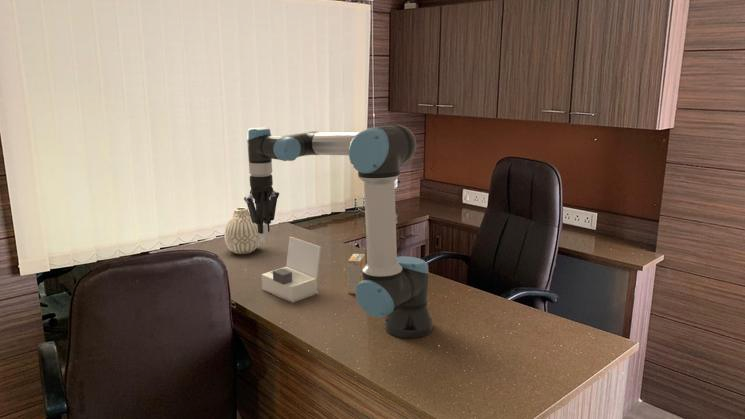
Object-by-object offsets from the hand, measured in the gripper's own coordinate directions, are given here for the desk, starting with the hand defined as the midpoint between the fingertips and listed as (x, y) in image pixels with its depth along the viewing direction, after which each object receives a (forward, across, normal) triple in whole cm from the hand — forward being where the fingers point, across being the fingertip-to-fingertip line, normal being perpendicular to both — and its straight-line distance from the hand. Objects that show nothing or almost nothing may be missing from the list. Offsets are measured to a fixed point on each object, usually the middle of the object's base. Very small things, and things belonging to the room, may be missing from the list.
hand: (264, 241), depth 193 cm
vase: (+23, -26, -54) cm, 64 cm away
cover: (+10, -18, -2) cm, 21 cm away
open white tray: (+22, -12, -2) cm, 25 cm away
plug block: (+16, -7, 0) cm, 18 cm away
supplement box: (+23, -30, +15) cm, 40 cm away
